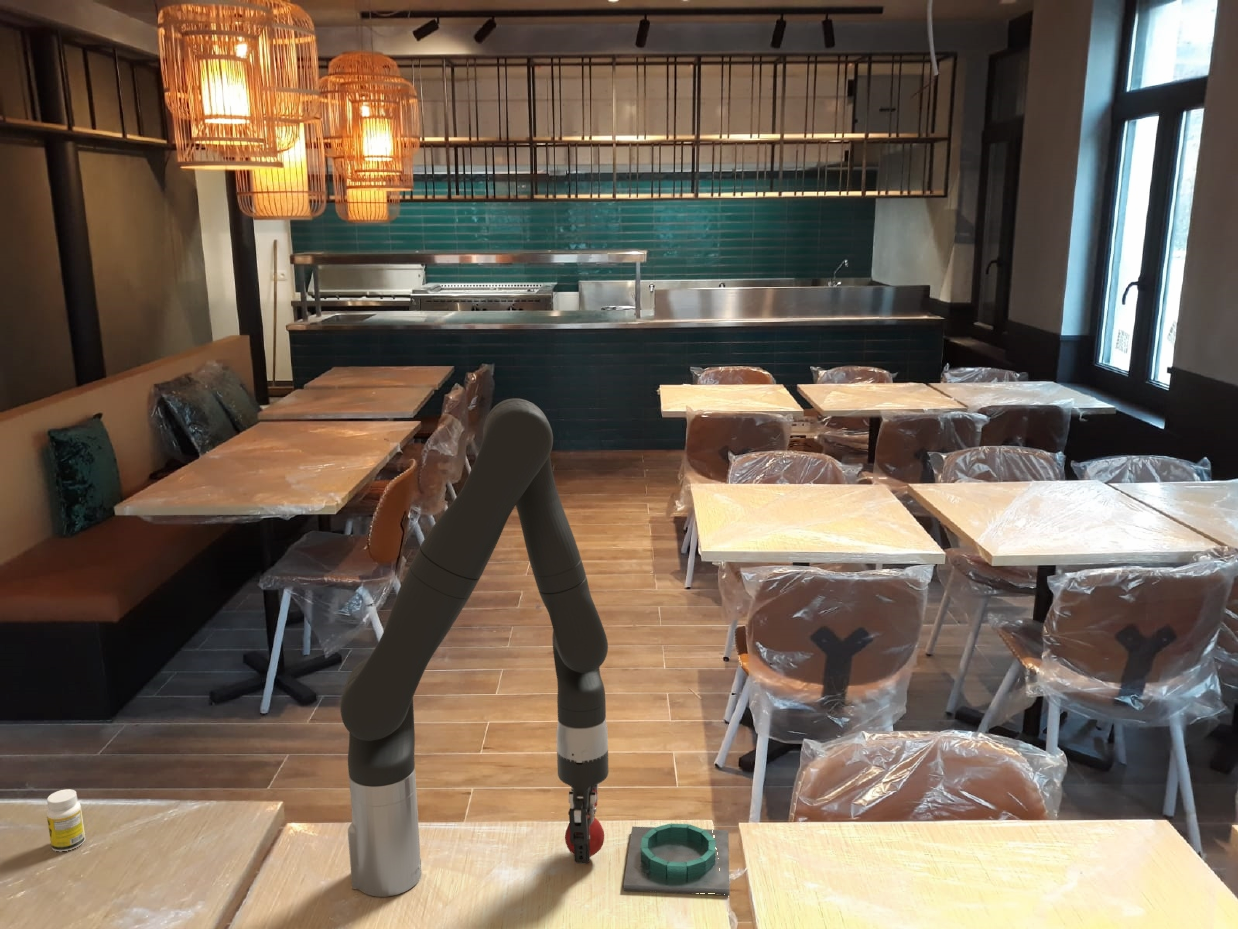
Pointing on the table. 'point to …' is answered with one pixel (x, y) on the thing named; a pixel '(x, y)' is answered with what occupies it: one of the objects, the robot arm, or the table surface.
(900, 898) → the table surface
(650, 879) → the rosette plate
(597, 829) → the onion
